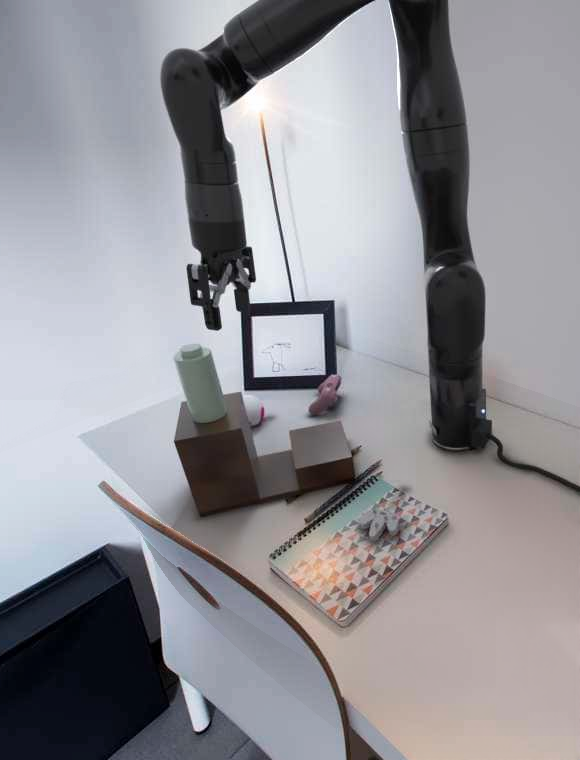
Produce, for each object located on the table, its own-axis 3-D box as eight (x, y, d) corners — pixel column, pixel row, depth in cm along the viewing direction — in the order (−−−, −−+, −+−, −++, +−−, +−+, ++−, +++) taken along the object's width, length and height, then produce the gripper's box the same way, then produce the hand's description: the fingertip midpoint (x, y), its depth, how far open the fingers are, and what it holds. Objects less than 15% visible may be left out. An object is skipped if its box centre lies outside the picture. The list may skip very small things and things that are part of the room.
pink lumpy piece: (327, 422, 106) (339, 395, 103) (306, 414, 106) (316, 386, 102) (337, 398, 115) (348, 372, 112) (317, 390, 114) (327, 364, 111)
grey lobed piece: (358, 542, 75) (355, 528, 74) (368, 491, 85) (366, 478, 84) (397, 541, 75) (396, 527, 74) (404, 490, 85) (402, 477, 84)
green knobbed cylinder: (234, 409, 81) (216, 342, 76) (210, 425, 77) (190, 356, 72) (209, 403, 83) (190, 338, 77) (184, 419, 79) (162, 352, 73)
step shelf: (344, 443, 97) (333, 375, 90) (356, 481, 87) (345, 408, 80) (204, 472, 90) (181, 401, 84) (199, 517, 81) (173, 441, 74)
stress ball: (266, 443, 104) (281, 415, 102) (225, 432, 99) (240, 403, 97) (261, 423, 110) (275, 396, 108) (222, 412, 105) (236, 384, 103)
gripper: (211, 226, 70) (227, 340, 78) (264, 209, 82) (272, 309, 90) (159, 219, 71) (180, 332, 79) (219, 204, 83) (231, 303, 91)
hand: (229, 320), depth 84 cm, fingers open, 8 cm apart
